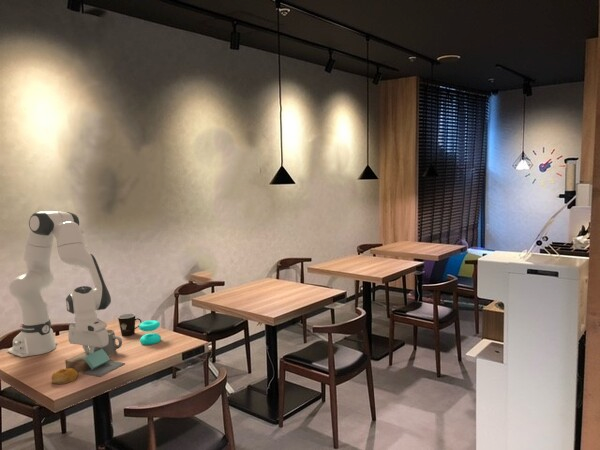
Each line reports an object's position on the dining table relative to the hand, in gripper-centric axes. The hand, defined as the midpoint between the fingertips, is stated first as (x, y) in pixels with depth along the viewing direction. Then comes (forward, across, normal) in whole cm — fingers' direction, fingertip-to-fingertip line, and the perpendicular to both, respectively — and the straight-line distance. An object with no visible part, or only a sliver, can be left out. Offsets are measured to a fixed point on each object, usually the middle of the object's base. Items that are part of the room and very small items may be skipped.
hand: (89, 354), depth 208 cm
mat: (+5, +8, 0) cm, 10 cm away
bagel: (+6, 0, -14) cm, 15 cm away
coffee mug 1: (+6, -4, +14) cm, 15 cm away
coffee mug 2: (+6, -13, +38) cm, 40 cm away
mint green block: (+2, +4, 0) cm, 4 cm away
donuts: (+6, +5, +33) cm, 34 cm away
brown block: (+5, -2, 0) cm, 6 cm away
